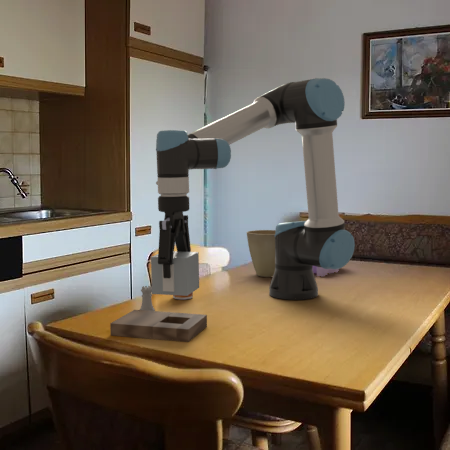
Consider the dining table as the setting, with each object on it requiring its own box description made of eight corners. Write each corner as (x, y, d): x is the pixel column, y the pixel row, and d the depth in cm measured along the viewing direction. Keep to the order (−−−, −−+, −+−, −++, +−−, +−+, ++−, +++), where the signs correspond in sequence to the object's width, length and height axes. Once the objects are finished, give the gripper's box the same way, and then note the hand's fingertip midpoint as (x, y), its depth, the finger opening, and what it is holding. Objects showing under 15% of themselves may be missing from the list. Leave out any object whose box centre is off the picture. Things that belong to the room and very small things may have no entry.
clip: (329, 278, 223) (330, 258, 222) (296, 275, 228) (296, 256, 227) (343, 268, 241) (343, 251, 240) (311, 266, 246) (312, 249, 245)
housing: (199, 287, 156) (198, 252, 155) (187, 295, 147) (186, 258, 146) (165, 286, 158) (164, 251, 157) (151, 293, 150) (150, 257, 149)
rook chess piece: (139, 313, 172) (138, 285, 171) (155, 313, 172) (155, 284, 171) (138, 317, 167) (137, 288, 166) (155, 317, 168) (154, 288, 167)
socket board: (206, 326, 159) (206, 314, 158) (188, 341, 145) (188, 329, 145) (134, 320, 164) (134, 309, 164) (110, 335, 151) (110, 323, 151)
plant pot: (295, 275, 227) (296, 231, 226) (268, 280, 217) (268, 235, 215) (265, 269, 238) (265, 228, 236) (238, 275, 228) (238, 231, 226)
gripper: (174, 191, 161) (177, 277, 164) (140, 198, 141) (144, 296, 143) (202, 191, 159) (204, 278, 162) (172, 198, 139) (174, 297, 141)
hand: (176, 286), depth 153 cm, fingers closed on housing, 9 cm apart
